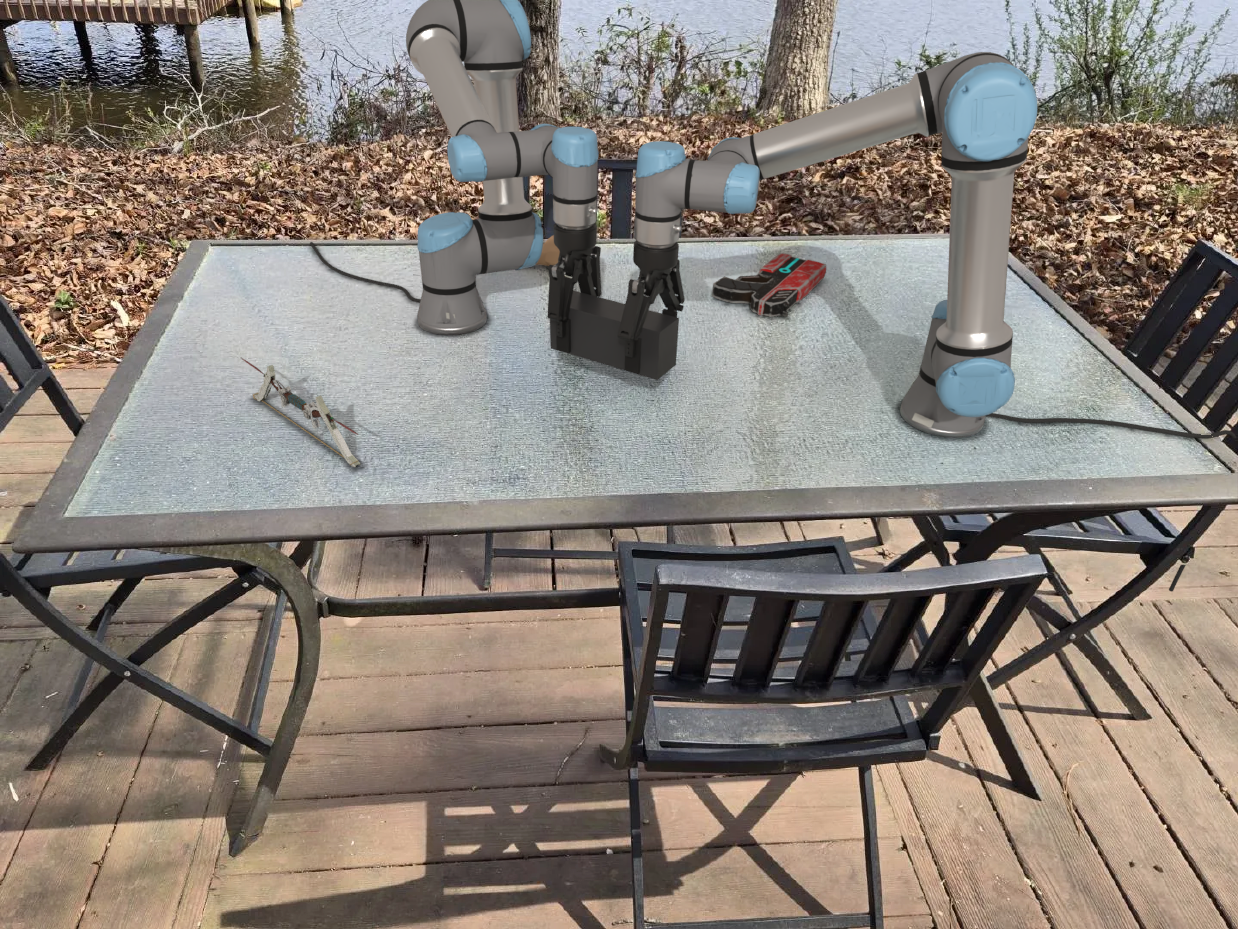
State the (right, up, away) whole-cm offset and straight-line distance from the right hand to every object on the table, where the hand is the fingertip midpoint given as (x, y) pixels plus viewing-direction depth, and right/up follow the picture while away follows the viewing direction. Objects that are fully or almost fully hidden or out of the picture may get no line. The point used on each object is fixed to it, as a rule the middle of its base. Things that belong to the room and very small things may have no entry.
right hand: (650, 357), depth 157 cm
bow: (-62, -13, 0) cm, 64 cm away
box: (-7, +1, +5) cm, 8 cm away
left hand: (-14, +4, +8) cm, 16 cm away
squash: (-22, +32, +69) cm, 79 cm away
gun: (+32, +23, +59) cm, 71 cm away
